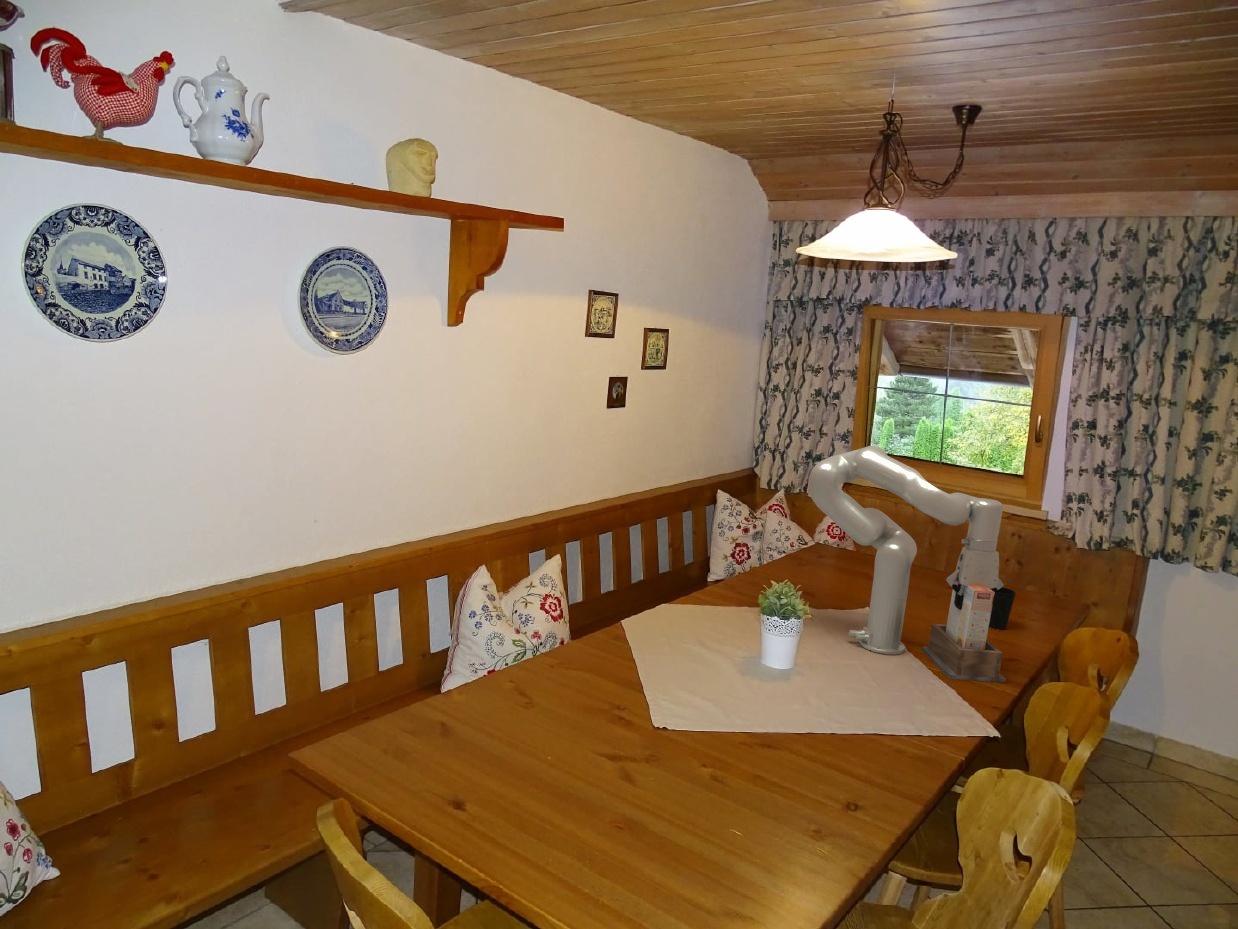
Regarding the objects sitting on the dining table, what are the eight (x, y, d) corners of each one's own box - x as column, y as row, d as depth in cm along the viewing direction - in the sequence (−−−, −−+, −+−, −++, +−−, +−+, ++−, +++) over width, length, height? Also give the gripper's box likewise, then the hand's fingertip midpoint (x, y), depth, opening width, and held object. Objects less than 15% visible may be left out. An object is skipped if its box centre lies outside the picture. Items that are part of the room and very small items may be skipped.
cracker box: (983, 667, 234) (995, 591, 231) (960, 665, 234) (972, 589, 231) (964, 647, 248) (975, 575, 245) (942, 645, 248) (953, 573, 245)
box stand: (949, 678, 232) (954, 649, 230) (921, 649, 251) (925, 622, 250) (1005, 682, 232) (1010, 654, 231) (972, 653, 252) (977, 626, 251)
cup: (1005, 633, 272) (1012, 596, 270) (980, 626, 277) (986, 589, 275) (1012, 627, 278) (1018, 591, 276) (987, 620, 283) (993, 584, 281)
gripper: (955, 546, 232) (944, 611, 235) (1019, 551, 233) (1007, 616, 236) (944, 538, 239) (933, 602, 242) (1006, 543, 240) (995, 606, 243)
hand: (970, 608), depth 239 cm, fingers closed on cracker box, 6 cm apart
